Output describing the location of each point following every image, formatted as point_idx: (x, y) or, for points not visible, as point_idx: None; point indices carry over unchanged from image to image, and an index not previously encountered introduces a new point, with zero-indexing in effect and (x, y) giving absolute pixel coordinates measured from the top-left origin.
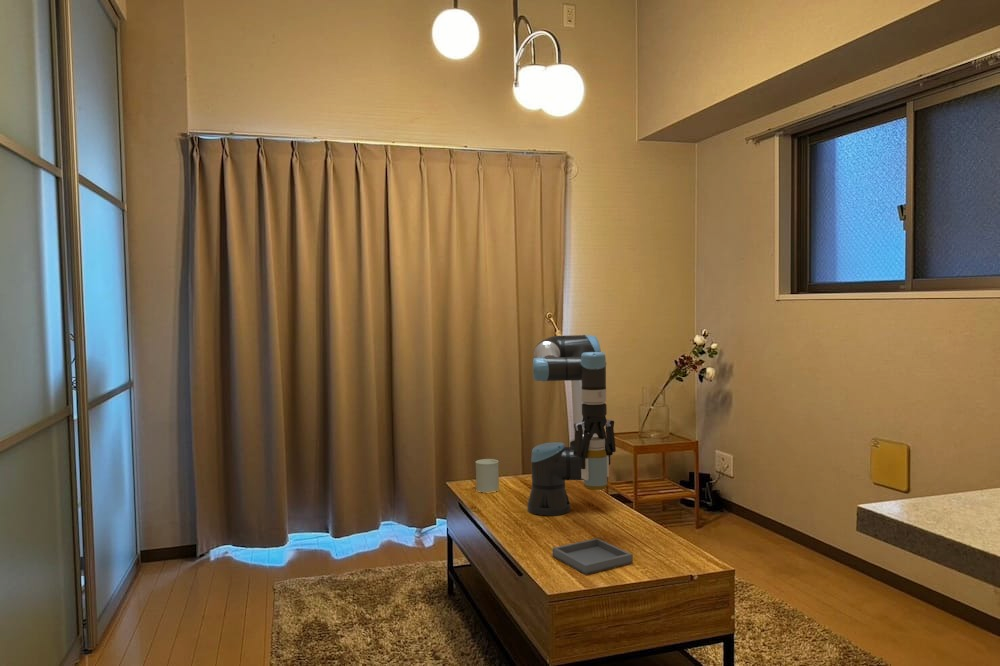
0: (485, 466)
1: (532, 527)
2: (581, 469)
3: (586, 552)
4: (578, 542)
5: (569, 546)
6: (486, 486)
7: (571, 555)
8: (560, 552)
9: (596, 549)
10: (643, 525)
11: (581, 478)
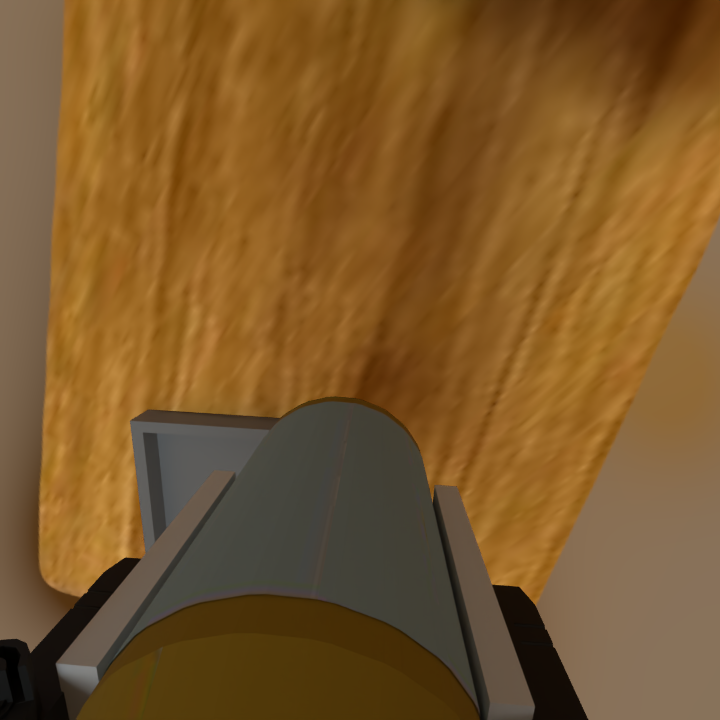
0: None
1: (233, 92)
2: (170, 527)
3: (245, 456)
4: (233, 429)
5: (191, 434)
6: None
7: (191, 450)
8: (135, 463)
9: None
10: (620, 350)
11: (213, 472)
